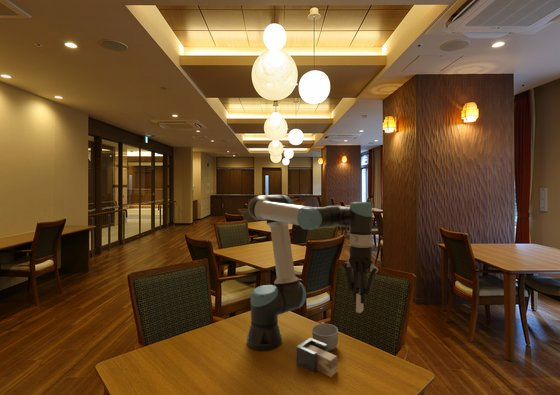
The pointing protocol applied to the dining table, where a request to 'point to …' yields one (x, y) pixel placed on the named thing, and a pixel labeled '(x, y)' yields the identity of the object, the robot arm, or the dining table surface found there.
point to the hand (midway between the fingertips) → (359, 311)
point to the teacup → (326, 335)
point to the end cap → (308, 354)
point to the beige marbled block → (324, 361)
